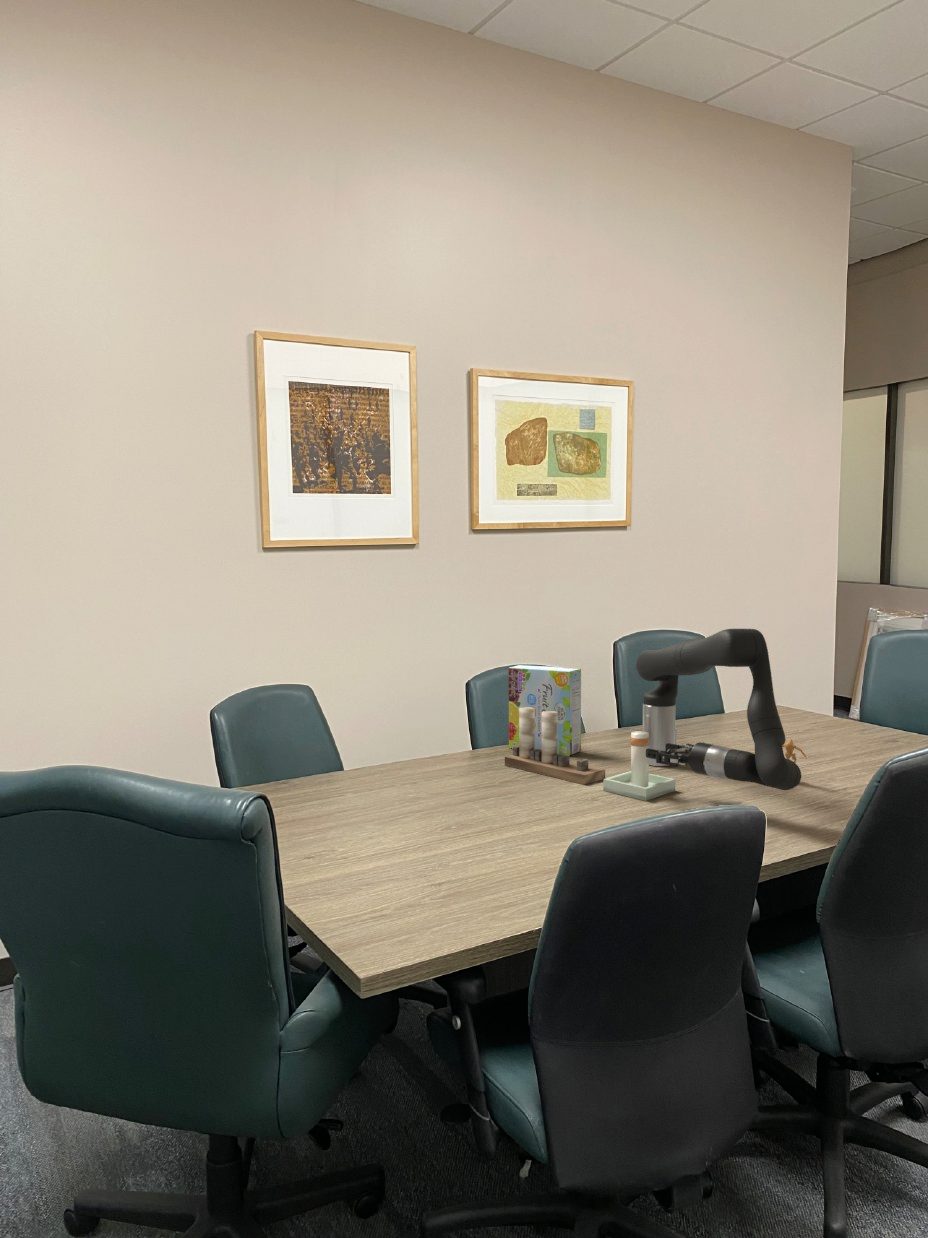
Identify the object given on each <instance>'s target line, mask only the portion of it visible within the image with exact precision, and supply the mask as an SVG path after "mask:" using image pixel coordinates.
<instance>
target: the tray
mask: <svg viewBox="0 0 928 1238" xmlns="http://www.w3.org/2000/svg"><path fill="white" fill-rule="evenodd" d="M602 789H603V791H604V792H608V793H610V794H611V793H612V794H616V795H620V796H623V797H627V798H632V799H636V800H641V801H645V802H647V801H650V800H653V799H656V798H658V797H661V796H664V795H667V794H670V793H673V792H676V778H671V777H667V776H662V775H657V774H654V773H649V778H648V787H641V786H636V785H632V784H631V770H629V771H626V772H623V773H619V774H615V775H613V776H609V777H607V778H606V777H605V779H603V788H602Z"/></svg>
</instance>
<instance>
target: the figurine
mask: <svg viewBox="0 0 928 1238" xmlns="http://www.w3.org/2000/svg"><path fill="white" fill-rule="evenodd" d="M783 747H784V748H785V751H786V752H784V757H785V758H786V759H789V760H791V759H792V760H793V762H794V763H796V762H797V760H798V759H797V756H796V753H794V750H797V751H799V752H800V753H801V754H802V755H803V756H804V757H805V760H808V758H807V755H806V754H805V753H804V752H803V750H802V749H801V748H799V747H798V746H796V745H795V744H794V743H793V738H790V739H789V740H788V741H787V742H785V743H784V745H782V748H783ZM796 764H797V763H796Z"/></svg>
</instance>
